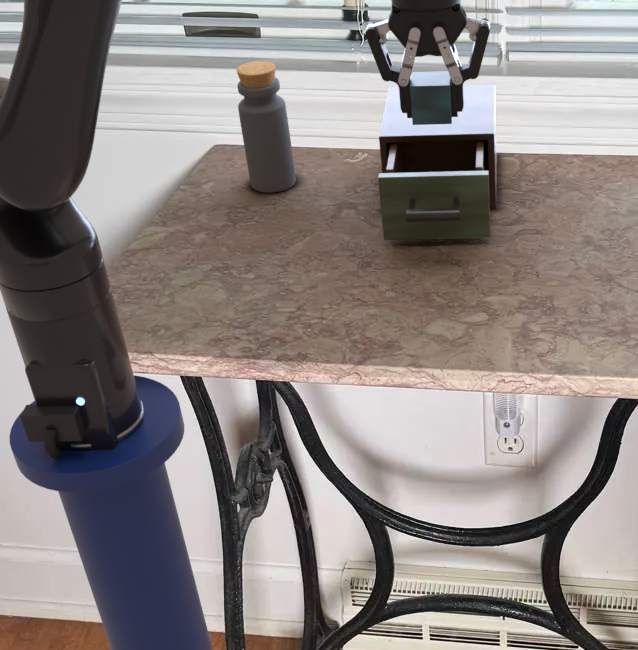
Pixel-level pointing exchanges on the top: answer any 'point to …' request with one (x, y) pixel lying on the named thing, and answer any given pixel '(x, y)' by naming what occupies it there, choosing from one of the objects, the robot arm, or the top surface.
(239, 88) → the bottle
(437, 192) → the drawer
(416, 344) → the top surface
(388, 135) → the cabinet
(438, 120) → the block
